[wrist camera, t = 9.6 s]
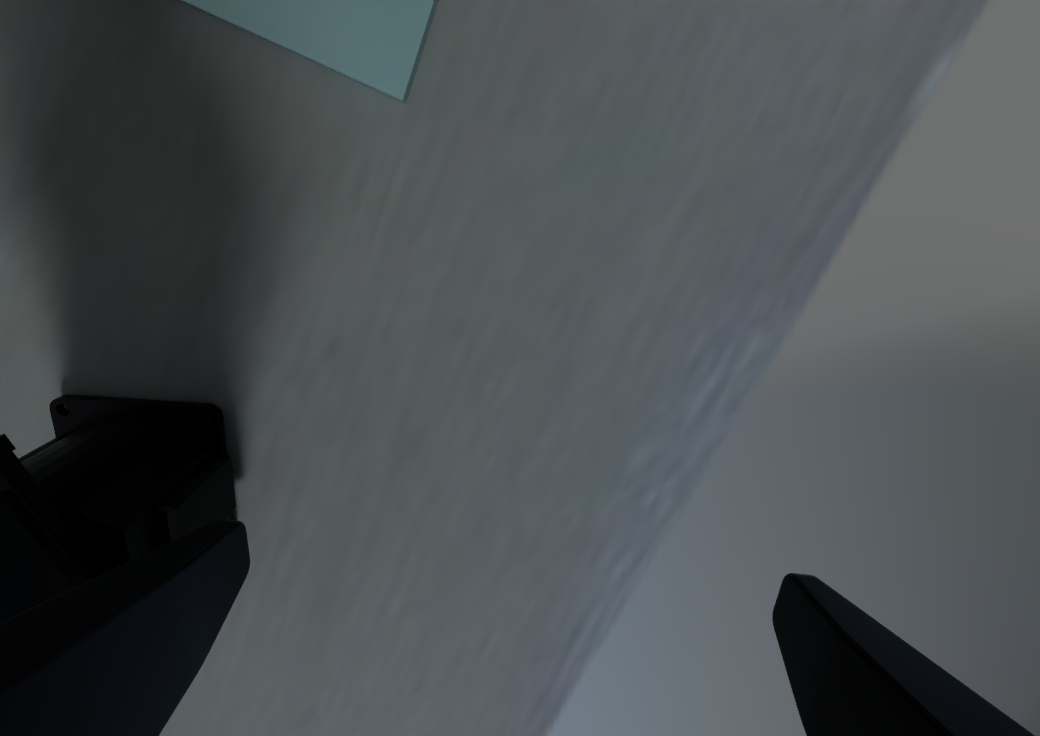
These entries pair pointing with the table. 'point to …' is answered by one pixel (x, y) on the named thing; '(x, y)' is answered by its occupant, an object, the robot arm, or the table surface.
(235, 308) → the table surface
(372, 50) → the teal tile
